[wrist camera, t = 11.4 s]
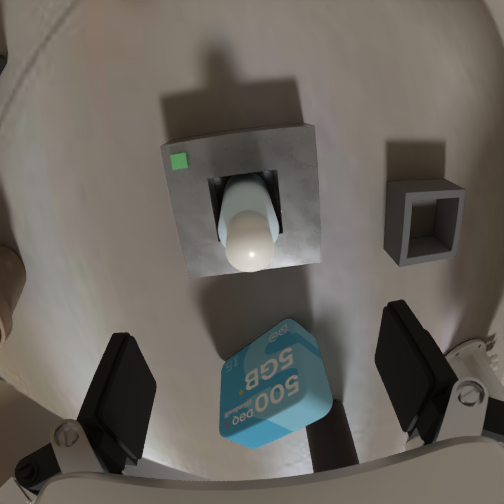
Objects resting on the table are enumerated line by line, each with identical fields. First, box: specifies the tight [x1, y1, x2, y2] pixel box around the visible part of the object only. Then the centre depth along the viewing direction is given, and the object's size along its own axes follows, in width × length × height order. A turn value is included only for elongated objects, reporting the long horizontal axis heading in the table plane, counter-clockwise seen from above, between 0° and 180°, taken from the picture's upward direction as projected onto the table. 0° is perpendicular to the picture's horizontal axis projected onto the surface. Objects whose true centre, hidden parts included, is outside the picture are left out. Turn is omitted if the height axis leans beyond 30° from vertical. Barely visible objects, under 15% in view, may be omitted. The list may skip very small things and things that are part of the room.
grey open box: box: [384, 179, 466, 267], centre depth 28 cm, size 8×8×4 cm
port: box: [160, 123, 321, 278], centre depth 26 cm, size 12×12×5 cm
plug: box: [218, 173, 279, 272], centre depth 23 cm, size 4×4×12 cm
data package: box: [219, 319, 333, 449], centre depth 32 cm, size 12×4×12 cm, turn 134°
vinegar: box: [306, 400, 359, 473], centre depth 36 cm, size 7×7×20 cm
